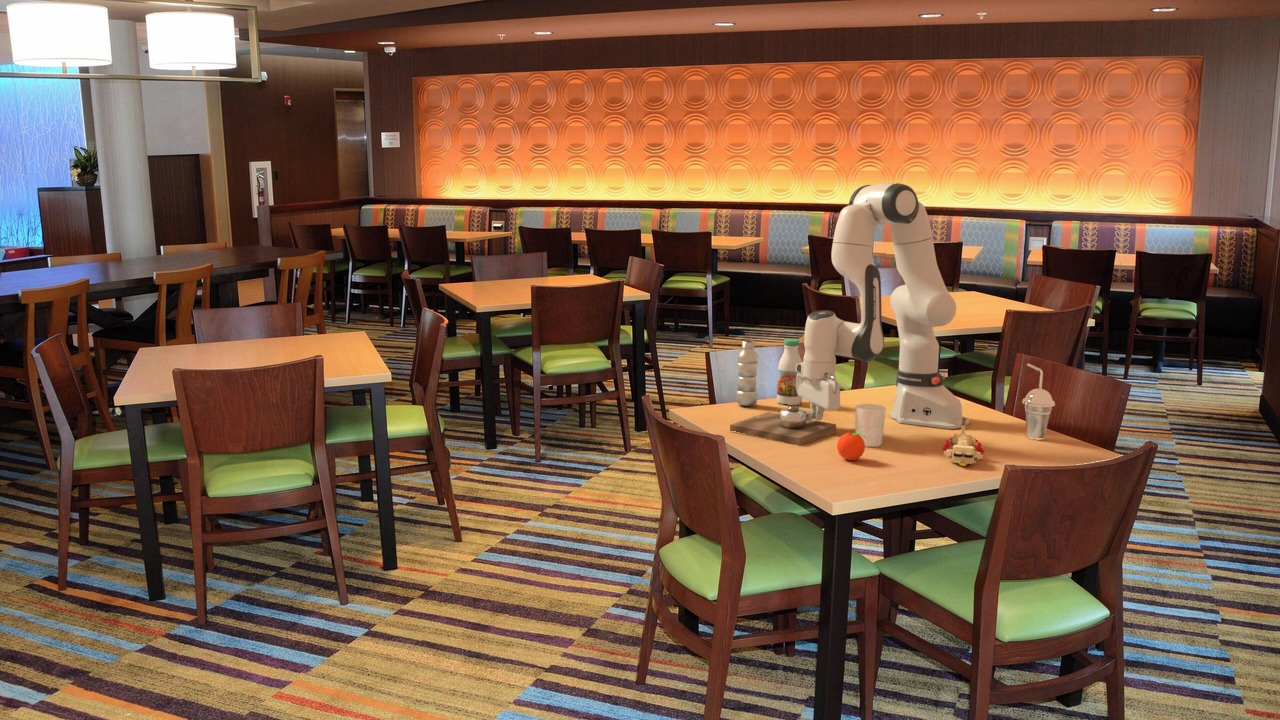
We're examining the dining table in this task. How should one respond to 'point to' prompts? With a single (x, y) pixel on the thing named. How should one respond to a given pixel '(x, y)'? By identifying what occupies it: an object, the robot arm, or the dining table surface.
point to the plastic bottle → (747, 375)
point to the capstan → (794, 417)
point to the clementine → (851, 446)
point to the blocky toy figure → (963, 448)
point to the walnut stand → (782, 429)
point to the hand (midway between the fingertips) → (816, 419)
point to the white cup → (870, 423)
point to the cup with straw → (1037, 409)
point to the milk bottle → (788, 374)
